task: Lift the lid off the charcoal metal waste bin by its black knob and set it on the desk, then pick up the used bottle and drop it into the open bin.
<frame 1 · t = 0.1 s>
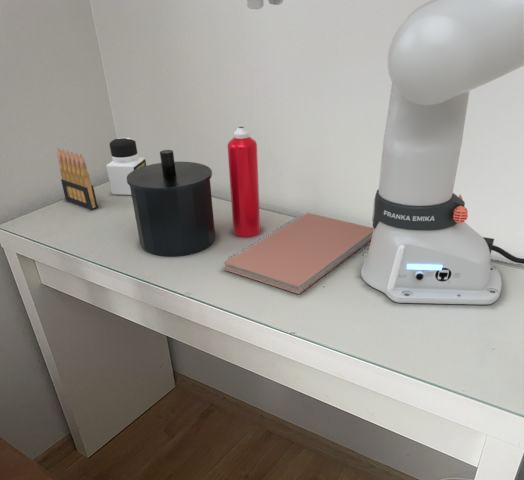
hand: (265, 6, 73), 39 cm above the table, tool pointing down, fingers open, 8 cm apart
notebook: (301, 253, 98), on the table
ammunition clip: (81, 204, 123), on the table
bottle: (246, 232, 107), on the table
bin lid: (169, 177, 97), point 12 cm above the table, touching trash bin
medicine bottle: (131, 191, 130), on the table
trash bin: (178, 240, 105), on the table
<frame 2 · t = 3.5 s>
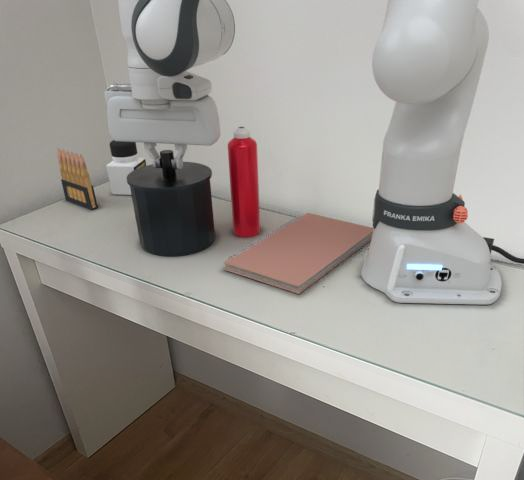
hand: (168, 167, 96), 14 cm above the table, tool pointing down, fingers closed on bin lid, 2 cm apart
bin lid: (169, 177, 97), point 13 cm above the table, touching gripper, trash bin
everything else where it was.
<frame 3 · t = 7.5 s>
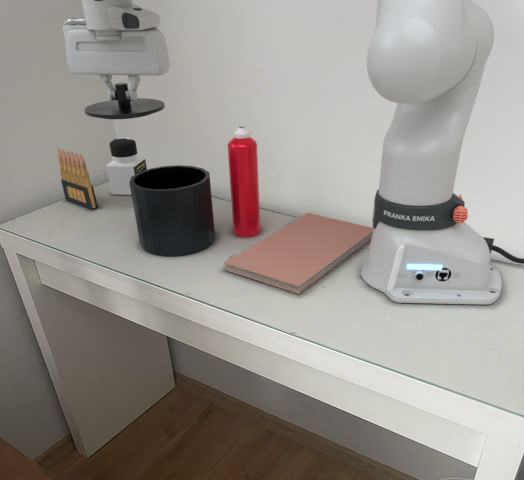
hand: (123, 100, 104), 23 cm above the table, tool pointing down, fingers closed on bin lid, 2 cm apart
bin lid: (125, 109, 105), point 21 cm above the table, touching gripper
everything else where it was.
when the fingers open (2 cm above the table, at t = 11.5 s): bin lid stays where it is, point 1 cm above the table.
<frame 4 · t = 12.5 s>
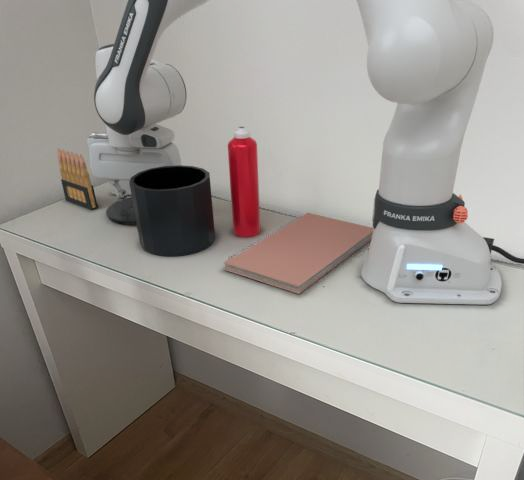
hand: (141, 200, 116), 3 cm above the table, tool pointing down, fingers open, 8 cm apart
bin lid: (142, 210, 117), point 1 cm above the table
everything else where it was.
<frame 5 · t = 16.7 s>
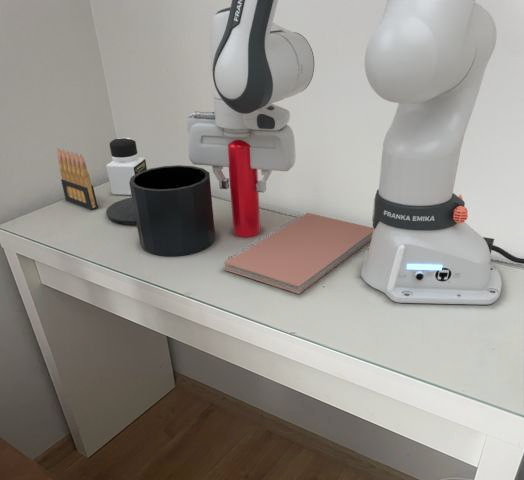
hand: (242, 189, 102), 9 cm above the table, tool pointing down, fingers open, 6 cm apart
bottle: (246, 232, 107), on the table, touching arm, gripper
everything else where it was.
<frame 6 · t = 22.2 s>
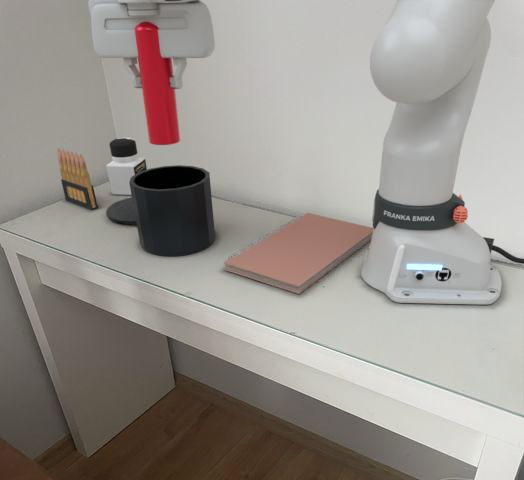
hand: (158, 88, 89), 27 cm above the table, tool pointing down, fingers closed on bottle, 5 cm apart
bottle: (165, 142, 94), point 19 cm above the table, touching arm, gripper
everything else where it was.
when the fingers open (9 cm above the table, at t = 26.8 s): bottle stays where it is, resting on trash bin.
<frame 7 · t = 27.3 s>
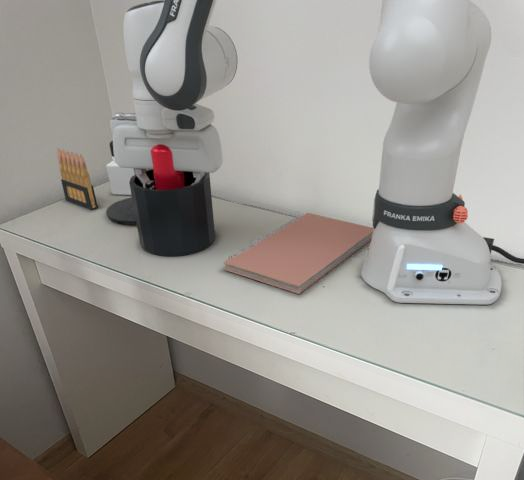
hand: (172, 193, 99), 10 cm above the table, tool pointing down, fingers open, 8 cm apart
bottle: (177, 239, 104), resting on trash bin
everything else where it was.
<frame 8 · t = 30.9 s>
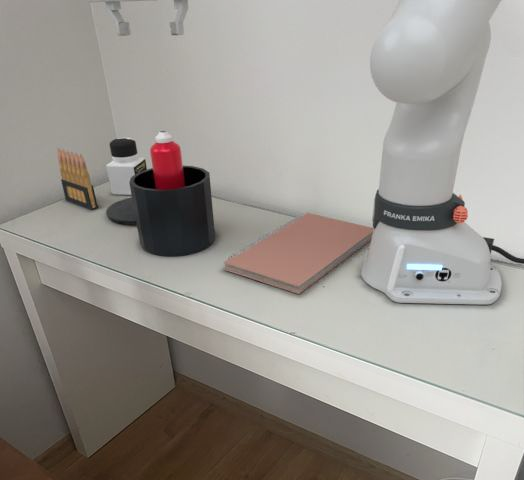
hand: (150, 35, 84), 35 cm above the table, tool pointing down, fingers open, 8 cm apart
nothing on the table moved.
at the end: bin lid inside the target area (0.0 cm from its centre), point 0.6 cm above the table; bottle inside the target area in the trash bin (0.1 cm from its centre), point 0.3 cm above the trash bin's base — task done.
